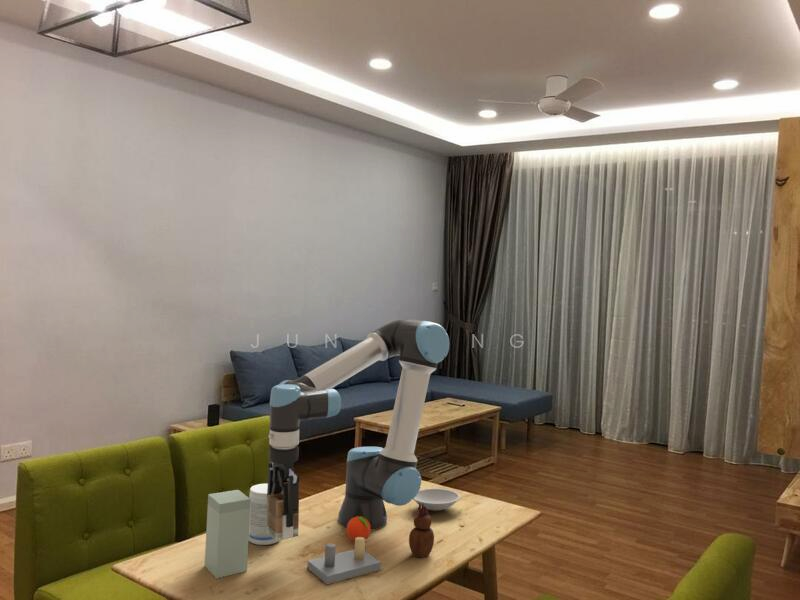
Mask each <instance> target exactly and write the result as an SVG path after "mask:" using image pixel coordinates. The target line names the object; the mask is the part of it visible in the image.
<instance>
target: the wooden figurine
mask: <svg viewBox="0 0 800 600" xmlns="http://www.w3.org/2000/svg"><path fill="white" fill-rule="evenodd" d="M417 508H418V509H417V514H416V515H415V516H414V517H413V526H414V527H413V528H412V529H411V530H410V533H409V536H408V537H409V538H408V545H409V549H410V552H411V554H412V555H413V556H414V557H416V556H417V558H426V557H428V556H429V555H430V554H431V552H432V550H433V548H434V543H435V542H434V541H435V534H434V530H433V529H432V528H431V526H432V517H431V516H430V515H429V513H428V512H429V511H428V509H427V508H426V506H424V503H422V507H421V505H420V503H419V504H418V507H417ZM425 556H426V557H425Z"/></svg>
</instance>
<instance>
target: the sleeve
mask: <svg viewBox="0 0 800 600" xmlns="http://www.w3.org/2000/svg"><path fill="white" fill-rule="evenodd" d="M282 513H285V512H284V501H283V493H278V494H272V495H268V496H267V534H268V535H270V536H271V537H272V538H273V539H275V540H276V541H278V542H279V541H284V540H283V539H282V520H283V515H282ZM299 514H300V513H299V512H298V513H296V514H294V517H293V538H296V537H299V523H300V522H299V521H300V518H299V516H300V515H299Z"/></svg>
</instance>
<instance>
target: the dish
mask: <svg viewBox="0 0 800 600" xmlns="http://www.w3.org/2000/svg"><path fill="white" fill-rule="evenodd" d="M460 499H461V494H460V493H459V492H458V491H455V490H451V489H448V488H439V487H438V488H437V487H434V488H432V487H431V488H430V487H429V488H423V489H419V492H418V494H417V495H416V496H415V498H414V499H412V500H413V501H414V502H416V504H417V505H419V503H420V505H421V508H422V503H424V506H426V508H427V510H429V511H433V510H438V511H443V510H445V509H447V510H448V509H449V508H450V507H452V506H453V505H454V504H455V503H457V502H458V501H459V500H460Z"/></svg>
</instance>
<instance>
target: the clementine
mask: <svg viewBox="0 0 800 600" xmlns="http://www.w3.org/2000/svg"><path fill="white" fill-rule="evenodd" d="M371 531H372V530H371V529H370V523H369V522H368V520H367V519H366V518H364V517H362V516H356V517H354V518H352V519H351V520H350V521H349V522H348V524H347V528H346V533H347V536H348V537H349V539H351V540H352V541H354V542H355V538H357V537H363V538H365V540H367V538H369V535H370V533H371Z"/></svg>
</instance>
